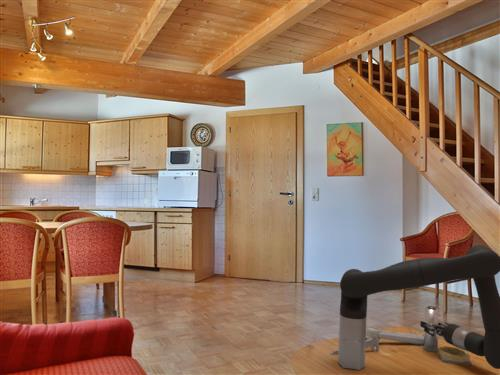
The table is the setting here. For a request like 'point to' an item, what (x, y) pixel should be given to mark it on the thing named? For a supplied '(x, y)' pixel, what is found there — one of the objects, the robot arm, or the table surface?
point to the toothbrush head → (395, 336)
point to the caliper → (368, 343)
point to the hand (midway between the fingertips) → (426, 323)
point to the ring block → (454, 355)
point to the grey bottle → (430, 318)
